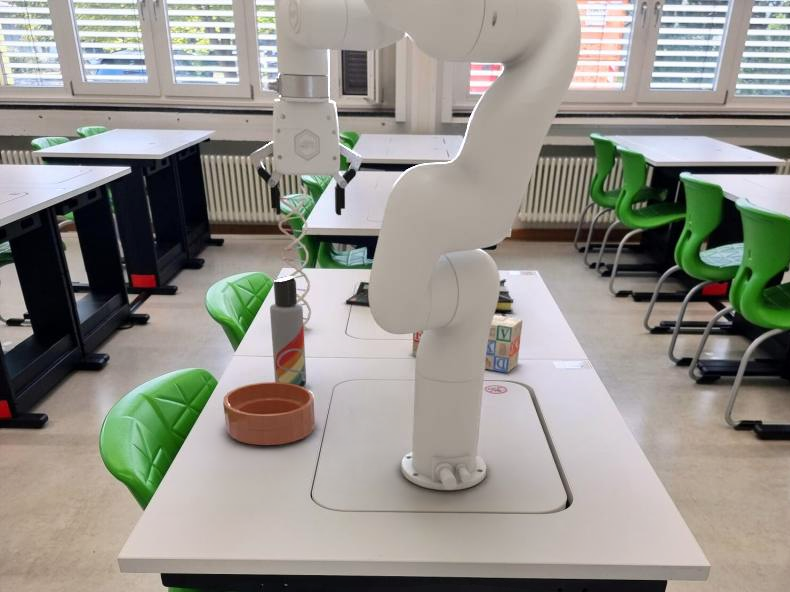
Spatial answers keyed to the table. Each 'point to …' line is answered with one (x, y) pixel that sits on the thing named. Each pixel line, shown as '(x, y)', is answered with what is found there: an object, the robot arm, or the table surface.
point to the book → (504, 299)
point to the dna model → (297, 248)
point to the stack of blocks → (496, 343)
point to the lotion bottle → (288, 334)
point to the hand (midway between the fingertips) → (308, 213)
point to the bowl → (269, 413)
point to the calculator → (360, 295)
